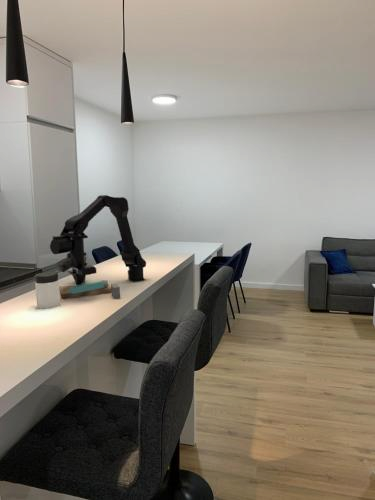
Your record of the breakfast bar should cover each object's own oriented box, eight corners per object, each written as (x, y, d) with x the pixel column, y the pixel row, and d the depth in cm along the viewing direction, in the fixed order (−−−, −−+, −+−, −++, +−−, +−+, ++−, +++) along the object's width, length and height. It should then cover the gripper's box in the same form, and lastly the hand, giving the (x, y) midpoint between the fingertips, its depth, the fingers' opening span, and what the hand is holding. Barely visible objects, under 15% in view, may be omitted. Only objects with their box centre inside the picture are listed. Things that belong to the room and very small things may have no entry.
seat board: (106, 285, 179) (106, 281, 179) (111, 292, 166) (111, 288, 166) (59, 291, 172) (59, 286, 172) (61, 299, 159) (61, 294, 159)
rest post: (117, 294, 163) (116, 283, 162) (120, 298, 157) (119, 287, 157) (111, 295, 162) (110, 284, 161) (114, 299, 156) (113, 287, 156)
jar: (62, 306, 149) (59, 274, 147) (38, 310, 145) (35, 277, 143) (58, 300, 157) (55, 270, 155) (36, 304, 153) (33, 273, 151)
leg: (106, 285, 169) (105, 279, 169) (109, 286, 167) (108, 281, 166) (69, 292, 159) (69, 286, 159) (72, 293, 157) (71, 287, 157)
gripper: (46, 250, 161) (49, 287, 163) (70, 256, 148) (72, 297, 150) (71, 246, 168) (74, 282, 171) (96, 252, 155) (98, 291, 158)
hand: (78, 288), depth 163 cm, fingers closed
